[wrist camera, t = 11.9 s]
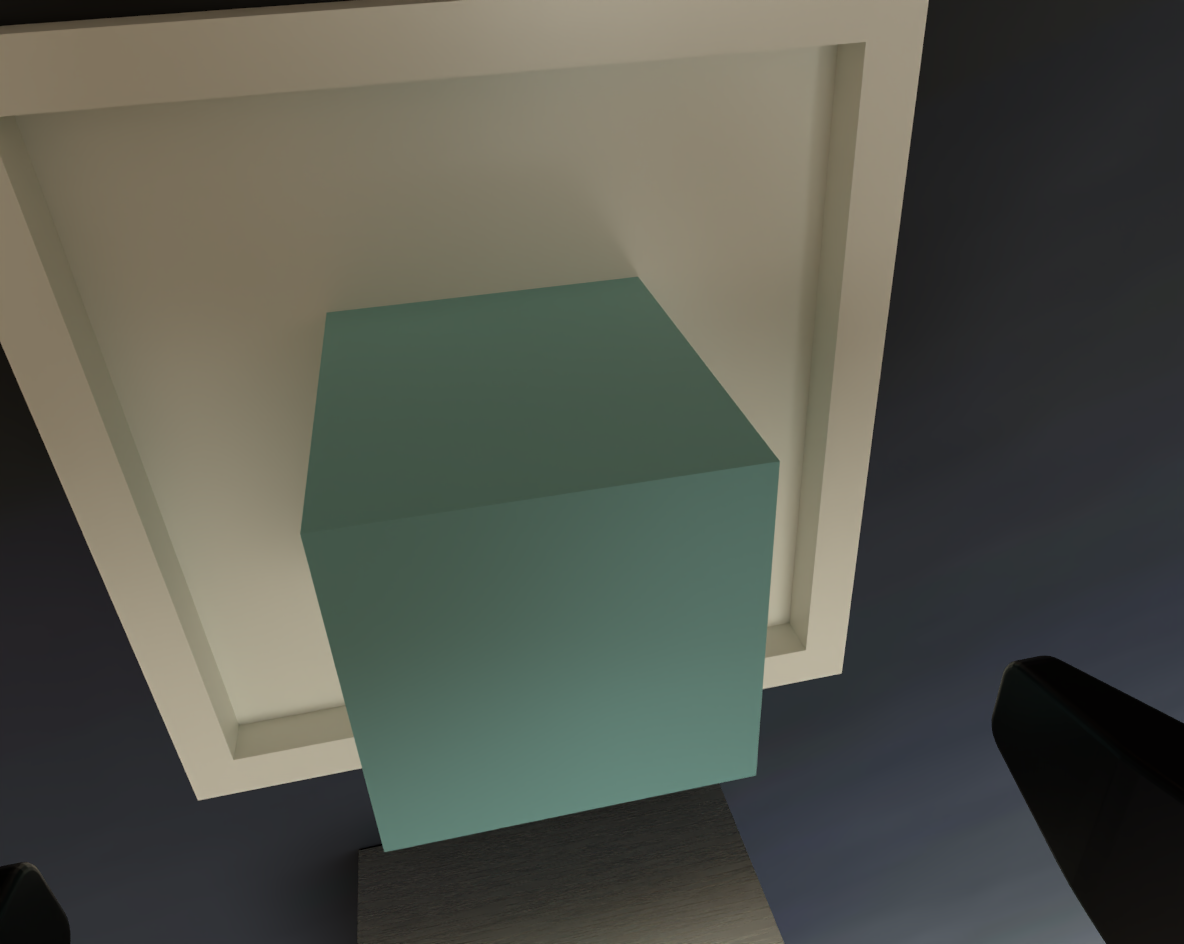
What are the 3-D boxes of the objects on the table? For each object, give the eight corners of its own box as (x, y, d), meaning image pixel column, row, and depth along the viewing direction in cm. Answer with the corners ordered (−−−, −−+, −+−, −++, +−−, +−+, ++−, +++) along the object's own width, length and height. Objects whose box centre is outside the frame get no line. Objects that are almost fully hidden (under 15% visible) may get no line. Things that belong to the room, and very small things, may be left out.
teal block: (638, 277, 13) (779, 461, 9) (642, 526, 16) (755, 775, 11) (327, 312, 13) (299, 534, 8) (380, 567, 15) (384, 852, 10)
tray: (879, -39, 12) (933, -35, 11) (812, 626, 19) (841, 673, 17) (-73, 30, 10) (-129, 44, 9) (210, 739, 17) (197, 800, 16)
